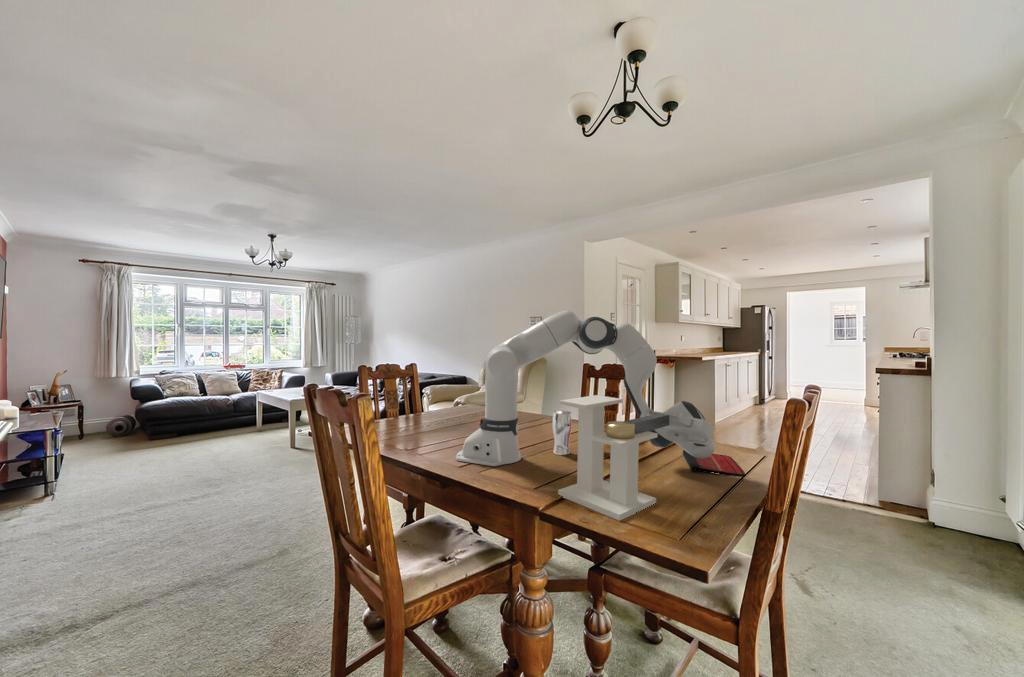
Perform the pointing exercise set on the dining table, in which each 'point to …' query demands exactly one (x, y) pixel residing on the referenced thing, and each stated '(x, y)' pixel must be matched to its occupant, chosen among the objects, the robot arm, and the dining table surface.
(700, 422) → the robot arm
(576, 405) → the rack
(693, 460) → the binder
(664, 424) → the grey and gold bar
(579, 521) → the dining table surface
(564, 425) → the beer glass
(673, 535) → the dining table surface
